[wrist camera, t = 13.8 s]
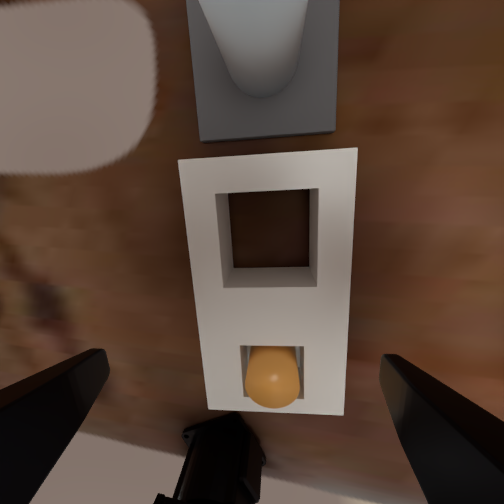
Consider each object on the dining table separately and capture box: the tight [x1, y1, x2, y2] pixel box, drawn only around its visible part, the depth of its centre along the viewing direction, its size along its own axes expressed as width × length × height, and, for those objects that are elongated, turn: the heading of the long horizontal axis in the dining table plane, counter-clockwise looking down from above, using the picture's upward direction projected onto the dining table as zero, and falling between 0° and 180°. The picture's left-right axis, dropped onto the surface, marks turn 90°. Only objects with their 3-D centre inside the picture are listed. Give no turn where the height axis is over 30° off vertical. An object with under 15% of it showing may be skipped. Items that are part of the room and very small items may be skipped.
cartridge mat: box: [186, 0, 339, 143], centre depth 16 cm, size 9×9×1 cm
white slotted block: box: [178, 148, 358, 415], centre depth 18 cm, size 10×18×4 cm, turn 3°
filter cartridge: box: [198, 0, 308, 98], centre depth 11 cm, size 4×4×9 cm
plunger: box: [245, 346, 300, 409], centre depth 18 cm, size 4×4×4 cm
